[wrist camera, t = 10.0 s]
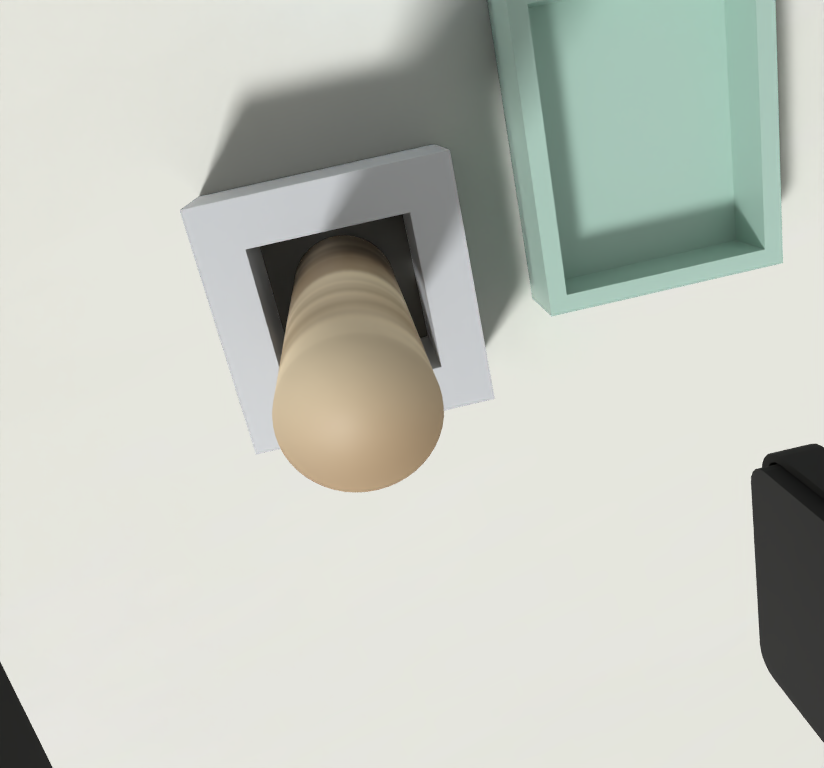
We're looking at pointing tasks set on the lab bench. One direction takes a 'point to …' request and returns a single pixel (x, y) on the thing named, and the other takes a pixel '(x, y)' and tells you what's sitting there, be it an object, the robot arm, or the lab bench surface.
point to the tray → (640, 142)
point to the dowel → (353, 373)
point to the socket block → (323, 211)
